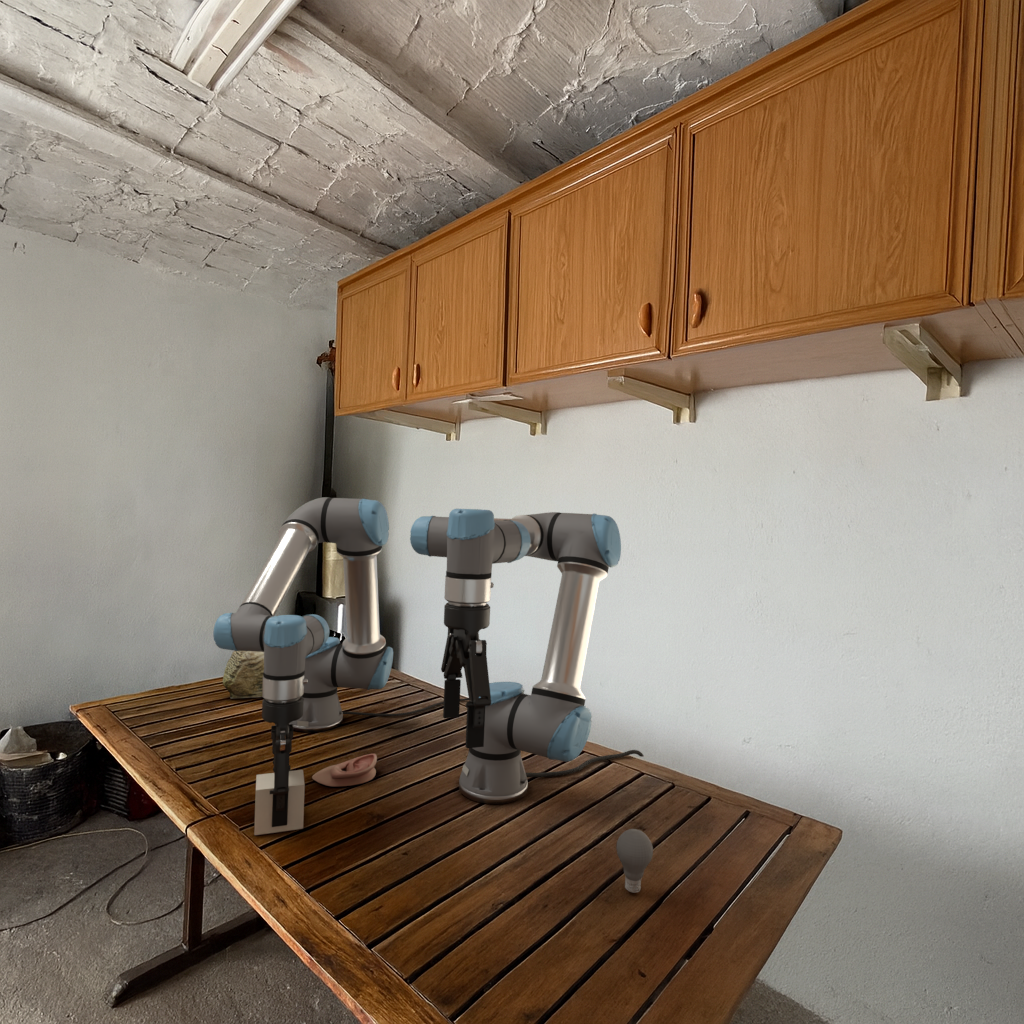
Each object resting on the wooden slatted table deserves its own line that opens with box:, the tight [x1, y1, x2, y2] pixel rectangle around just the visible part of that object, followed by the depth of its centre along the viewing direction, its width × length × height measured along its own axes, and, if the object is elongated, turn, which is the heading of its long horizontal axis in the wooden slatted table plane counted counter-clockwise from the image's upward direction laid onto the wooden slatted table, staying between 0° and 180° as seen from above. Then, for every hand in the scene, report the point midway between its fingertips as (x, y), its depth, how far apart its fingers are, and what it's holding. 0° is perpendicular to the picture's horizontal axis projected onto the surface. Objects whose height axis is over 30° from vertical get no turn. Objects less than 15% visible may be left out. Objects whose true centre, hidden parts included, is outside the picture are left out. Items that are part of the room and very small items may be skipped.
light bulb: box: [615, 828, 654, 894], centre depth 106 cm, size 6×6×10 cm
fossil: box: [222, 650, 264, 699], centre depth 198 cm, size 9×18×15 cm, turn 132°
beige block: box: [253, 769, 306, 836], centre depth 122 cm, size 9×7×8 cm
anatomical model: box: [311, 753, 378, 788], centre depth 144 cm, size 13×4×12 cm
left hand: (279, 815), depth 122 cm, fingers closed on beige block, 7 cm apart
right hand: (462, 731), depth 104 cm, fingers open, 13 cm apart
